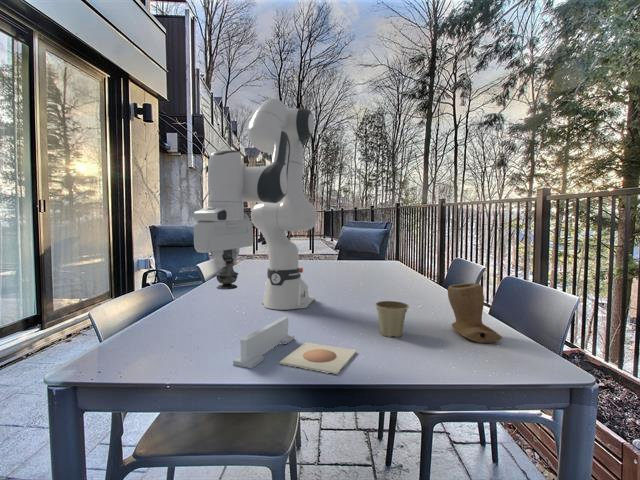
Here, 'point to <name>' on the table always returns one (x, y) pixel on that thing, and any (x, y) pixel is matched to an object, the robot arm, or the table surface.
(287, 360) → the mat
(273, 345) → the acrylic wall
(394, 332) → the flower pot
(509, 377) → the table surface
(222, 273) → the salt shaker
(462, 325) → the brown boot
